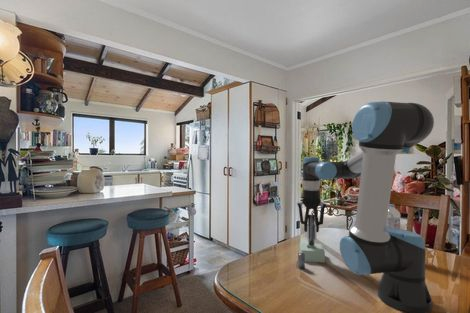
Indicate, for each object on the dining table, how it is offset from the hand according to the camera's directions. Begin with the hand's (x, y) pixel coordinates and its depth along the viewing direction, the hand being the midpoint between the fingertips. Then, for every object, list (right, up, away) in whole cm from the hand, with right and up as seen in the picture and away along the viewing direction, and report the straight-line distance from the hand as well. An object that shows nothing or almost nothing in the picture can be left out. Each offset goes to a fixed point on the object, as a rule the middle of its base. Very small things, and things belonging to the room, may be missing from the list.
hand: (311, 238), depth 119 cm
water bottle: (+39, -9, 0) cm, 40 cm away
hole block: (0, -9, 0) cm, 9 cm away
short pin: (-8, -9, -11) cm, 16 cm away
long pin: (0, -3, 0) cm, 3 cm away
